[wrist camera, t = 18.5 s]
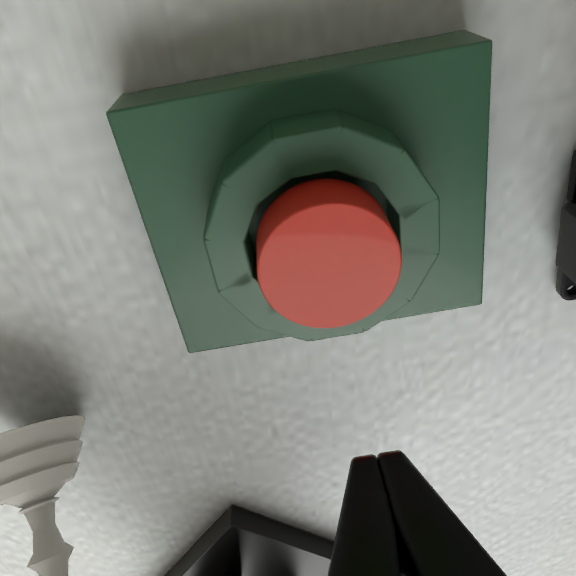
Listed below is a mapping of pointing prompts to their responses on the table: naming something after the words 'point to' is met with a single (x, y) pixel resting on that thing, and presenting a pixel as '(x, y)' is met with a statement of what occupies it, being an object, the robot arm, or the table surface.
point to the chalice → (41, 483)
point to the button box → (313, 175)
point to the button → (326, 254)
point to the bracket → (255, 549)
